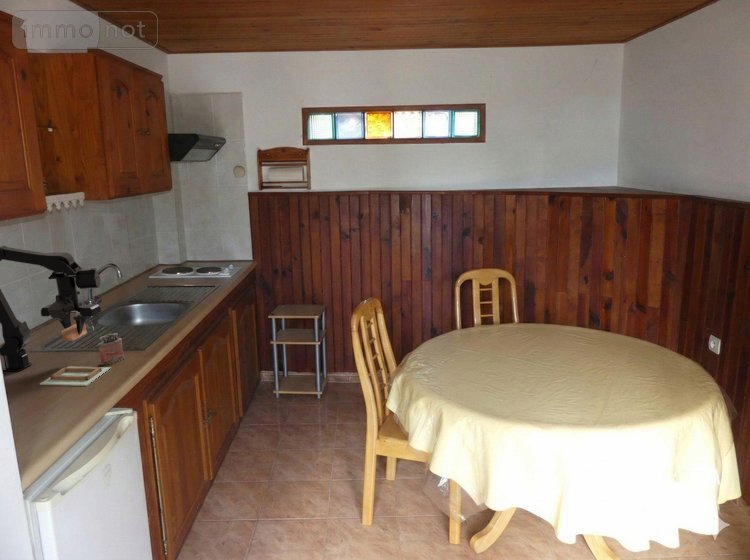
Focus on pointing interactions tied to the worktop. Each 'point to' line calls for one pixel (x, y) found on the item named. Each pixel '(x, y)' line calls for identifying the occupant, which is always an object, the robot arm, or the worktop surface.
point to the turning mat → (75, 376)
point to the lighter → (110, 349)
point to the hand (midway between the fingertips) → (74, 334)
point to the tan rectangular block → (72, 333)
